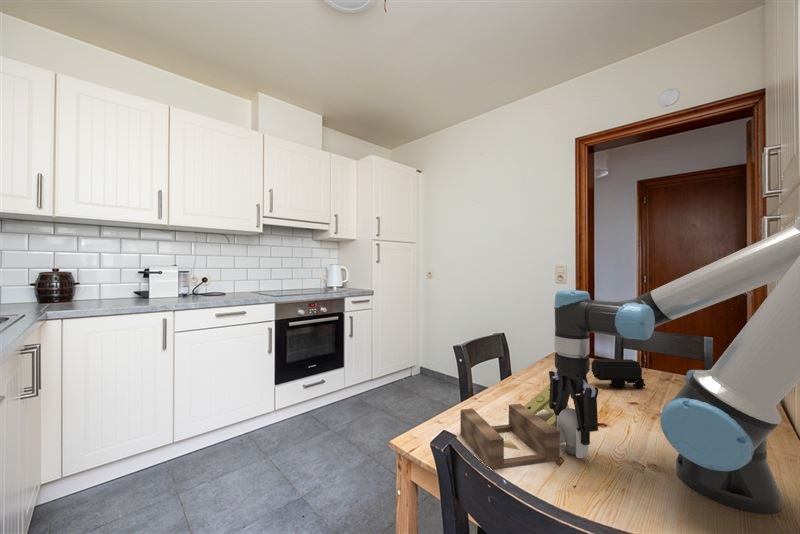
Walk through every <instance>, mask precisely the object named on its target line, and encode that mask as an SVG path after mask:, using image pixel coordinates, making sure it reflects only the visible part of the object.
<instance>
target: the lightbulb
mask: <svg viewBox="0 0 800 534" xmlns="http://www.w3.org/2000/svg"><path fill="white" fill-rule="evenodd" d="M558 423H559V425H560V428H561V429H562V431H563V434H564V439H565V442H564V443H565V451H566V452H567V454H570V455H576V428H579V426H578V421H577V416H576V411H575V408H572V407H571V408H570V407H569V408H566V409H563V410H562V411H561V412H560V413H559V416H558ZM584 425H585V424H584Z"/></svg>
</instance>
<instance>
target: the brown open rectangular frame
mask: <svg viewBox="0 0 800 534" xmlns="http://www.w3.org/2000/svg"><path fill="white" fill-rule="evenodd" d="M501 433H513V434H514V435H515V436H516V437H517V438H518V439H520V441H522V443H524V444H525V445H526V446H528V448H530V449H531V450H532V451H533V452H534V453H536V454H531V455H530V454H529V455H523V456H521V455H520V456H515V457H514V456H513V457H509V458H505V456H504V455H505V451H504V450H505V448H507V449H511V450H517V451H521V449H520V448H519V447H518V446H517V445H516V444H515V443H513V441H511V439H508V440H505V438H504V437H503V436H502V435H500V434H501ZM460 435H461V437H462V438H463V439H464V440H465V442H466V443H467V445H468V446H470V448H471V450H472V451H474V453H475V454H476V455H477V457H478V458H479V459H480V461H481V462H482V463H483V464H484V465H485V464H486V465H487V466H488V467H490V468H491V469H492V470H491V471H493V470H495V471H496V470H501V469H507V468H509V469H510V468H515V467H522V466H523V467H524V466H529V465H537V464H544V463H552V462H558V461H560V460H561V456H560V455H561V445H560V444H561V443H560V432H559V431H558V430H557V428H555V427H554V426H553V425H552V426H551V425H549V424H548V423H547V422H546V420H544V419H542V418H541V417H539V416H538V415H537V414H534V413H532V412H531V411H530V410H528V409H527V408H525V407H524V405H523V404H521V403H513V404H508V423H507V424H499V425H490V424H489V422H487V420H485V419H484V418H483V417H482V416H481V415H480V414H479V413H478V412H477V411H476V410H475V409H474V408H473V407H472V408H462V409H460ZM486 465H485V466H486ZM487 466H486V467H487Z"/></svg>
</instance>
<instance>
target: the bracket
mask: <svg viewBox="0 0 800 534" xmlns="http://www.w3.org/2000/svg"><path fill="white" fill-rule="evenodd" d="M549 397H550V383H548V385H547V386H545V388H543V389H542V390H540V392H538V393H537V394H536V395H535V396H534V397H532V398H531V399H530V400H529V401H528V402H526V404H524V405H523V406H524V407H525V408H527V409H528V410H530V411H531V412H532V413H534V414H535V415H537V413H538V412H542V411H543V410H545V411H547V412H548V413H550V414H551V415H552V416H551V417H550V418H549V419H547V420H545V422H547V423H548V424H549V425H551V426H552V427H553V425H555V424H556V415H555V413H554V410H553V409H550V407H549ZM554 404H556V403H554ZM567 408H570V406H569V404H567Z"/></svg>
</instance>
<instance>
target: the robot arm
mask: <svg viewBox="0 0 800 534" xmlns="http://www.w3.org/2000/svg"><path fill="white" fill-rule="evenodd" d="M778 280H780V281H779V282H778V283H777V284H776V285H775V287H774V288H773V289H772V291H771V292H770V293H769V294H768V296H767V297H765V299H764V300H763V302H762V303H761V304H760V306H759V307H758V308H757V309H756V310H755V312H754V313H753V314H752V316H751V317H750V319H749V320H748V321H747V322H746V324H745V325H744V326H743V328H742V329H741V330H740V331H739V333H738V334H737V335H736V337H735V338H734V339H733V341H732V342H731V343H730V344H729V346H728V347H727V348H726V349H725V350H724V352H723V353H722V355H721V356H720V357H719V358H718V360H717V361H716V362H715V364H714V365H712V367H711V369H708V370H703V369H689V370H688V371H687V372H686V375H685V378H684V381H685V383H684V385H683V387H682V388H681V389H680V390H679V392H678V393H677V394H676V396H675V397H674V398H673V399H671V400H670V401H668V402H667V403H665V405H664V406H663V408H662V411H661V412H660V413H661V414H660V417H659V420H660V421H659V422H660V428H661V430H662V433H663V435H664V437H665V439H666V440H667V442H668V443H669V444H670V446H672V448H673V449H674V450H676V451H677V452H678V455H677V457H676V460H675V473H676V476H678V478H679V479H680V480H681V482H683V483H684V484H685V485H687V486H688V487H689V488H691V489H692V490H693V491H696V492H697V493H698V494H701V495H703V496H705V497H707V498H709V499H711V500H713V501H715V502H717V503H720V504H722V505H725V506H729V507H730V508H734V509H736V510H737V509H738V510H742V511H744V512H745V511H746V512H749V513H757V514H774V513H778V512H780V511H781V509H782V494H781V491H780V488H779V487H778V484H777V482H776V478H775V477H774V475H773V472H772V470H771V468H770V465H769V463H768V456H767V454H768V451H767V450H768V446H767V445H768V443H767V442H768V441H767V439H768V436H769V435H771V433H772V432H773V431H774V430H775V429H776V428H777V426H779V425H780V424H781V423H782V420H783V419H782V416H781V415H780V412H779V409H778V407H777V406H778V404H780V402H781V401H782V400H783V399H784V398H785V396H786V395H788V393H789V392H790V391H791V390H792V389H793V388H794V387H795V386H796V385H797V384H798V382H799V381H800V215H799V216H797V217H796V220H795V222H794V225H792V226H789V227H787V228H786V229H783V230H781V231H779V232H776V233H774V234H772V235H769V236H768V237H766V238H764V239H760V240H759V241H757V242H755V243H752V244H751V245H749V246H746V247H744V248H741V249H740V250H738V251H735V252H733V253H731V254H729V255H727V256H725V257H722V258H720V259H717V260H716V261H714V262H711V263H710V264H707V265H705V266H702V267H700V268H698V269H696V270H694V271H691V272H690V273H687V274H685V275H683V276H681V277H679V278H676V279H674V280H672V281H670V282H668V283H666V284H663V285H662V286H661V285H660V286H659V287H656V288H654V289H652V290H650V291H648V292H645V293H643V294H642V295H639V296H636V297H635V298H632V299H627V300H621V301H605V300H594V299H591V296H590V293H589V292H588V291H587V290H574V289H573V290H572V289H571V290H570V289H569V290H568V289H565V290H563V289H562V290H558V291H557V292H556V293H555V296H554V307H553V309H554V351H555V353H554V367H555V368H556V370H549V371H548V377H549V384H550V390H549V392H550V397H549V407H550V409H553V410H554V413H555V415H556V422H555V427H556V429H557V430H558V431H559V432H560V444H563V443H565V439H564V434H563V431H562V429H561V428H560V425H559V423H558V416H559V413H560V412H561V411H562V410H563V409H566V408H567V404H568V403H569V399H572V400H573V405H574V409H575V411H576V416H577V421H578V426H579V428H576V454H575V457H576V458H578V459H582V458H588V457H589V445H590V444H591V433H592V432H599V431H598V430H599V423H598V422H599V419H598V399H597V398H598V396H599V388H598V387H596V386H595V387H594V386H591V384H589V380H588V377H587V375H588V373H589V372H590V371H591V370H590V368H591V367H590V366H591V365H590V364H591V363H590V361H591V360H590V357H589V355H590V333H592V334H600V335H607V336H613V337H618V338H624V339H627V340H632V339H633V340H640V341H647V340H648V339H650V338H651V337H652V335H653V333H654V332H655V328H657V327H659V326H660V325H663V324H665V323H669V322H671V321H673V320H676V319H678V318H681V317H684V316H686V315H690V314H691V313H695V312H697V311H700V310H702V309H705V308H708V307H710V306H712V305H715V304H718V303H722V302H724V301H726V300H729V299H731V298H733V297H737V296H740V295H742V294H744V293H747V292H750V291H753V290H755V289H758V288H760V287H761V288H762V287H763V286H766V285H769V284H771V283H774V282H777V281H778ZM554 403H556V404H554ZM568 405H569V404H568ZM584 424H585V425H584Z"/></svg>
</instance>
